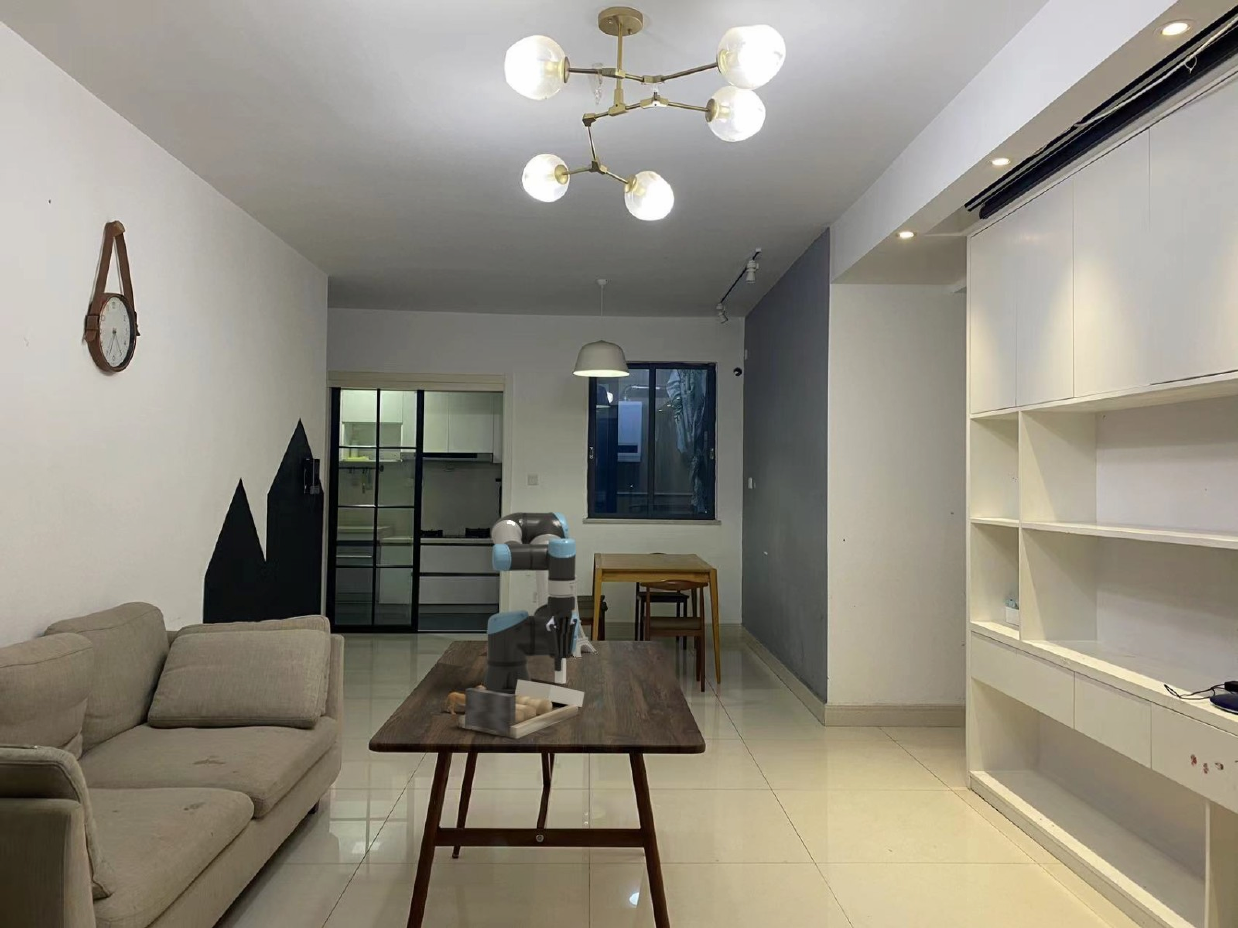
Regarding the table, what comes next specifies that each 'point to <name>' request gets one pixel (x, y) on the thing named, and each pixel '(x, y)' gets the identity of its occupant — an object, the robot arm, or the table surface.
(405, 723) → the table surface
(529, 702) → the roller rear
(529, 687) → the slab
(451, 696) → the lion figurine
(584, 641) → the eiffel tower
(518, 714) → the roller front
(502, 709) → the track
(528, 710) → the roller mid
